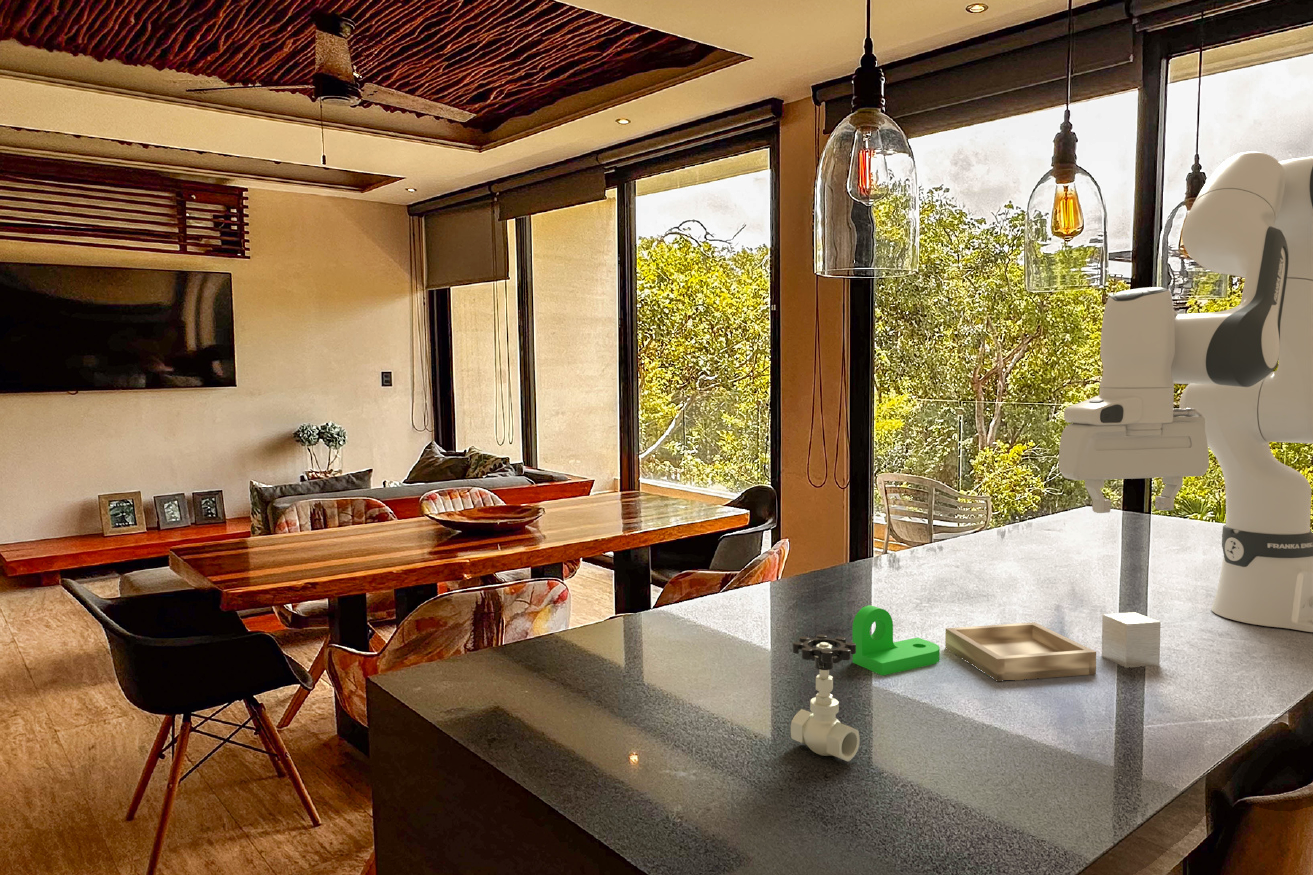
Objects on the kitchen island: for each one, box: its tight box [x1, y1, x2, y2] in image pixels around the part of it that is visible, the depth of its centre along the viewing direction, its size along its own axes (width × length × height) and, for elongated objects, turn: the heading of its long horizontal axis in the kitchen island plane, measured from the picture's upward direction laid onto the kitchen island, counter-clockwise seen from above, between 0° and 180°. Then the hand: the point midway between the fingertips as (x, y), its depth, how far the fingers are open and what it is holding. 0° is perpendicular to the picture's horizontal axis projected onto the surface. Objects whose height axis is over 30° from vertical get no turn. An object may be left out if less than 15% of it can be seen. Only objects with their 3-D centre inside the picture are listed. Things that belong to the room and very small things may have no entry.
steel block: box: [1101, 611, 1161, 669], centre depth 122 cm, size 5×5×6 cm
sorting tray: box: [944, 621, 1097, 682], centre depth 123 cm, size 14×14×3 cm
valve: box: [790, 633, 860, 762], centre depth 94 cm, size 7×7×12 cm
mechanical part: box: [851, 604, 941, 676], centre depth 123 cm, size 12×6×8 cm, turn 118°
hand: (1132, 511), depth 121 cm, fingers open, 8 cm apart
